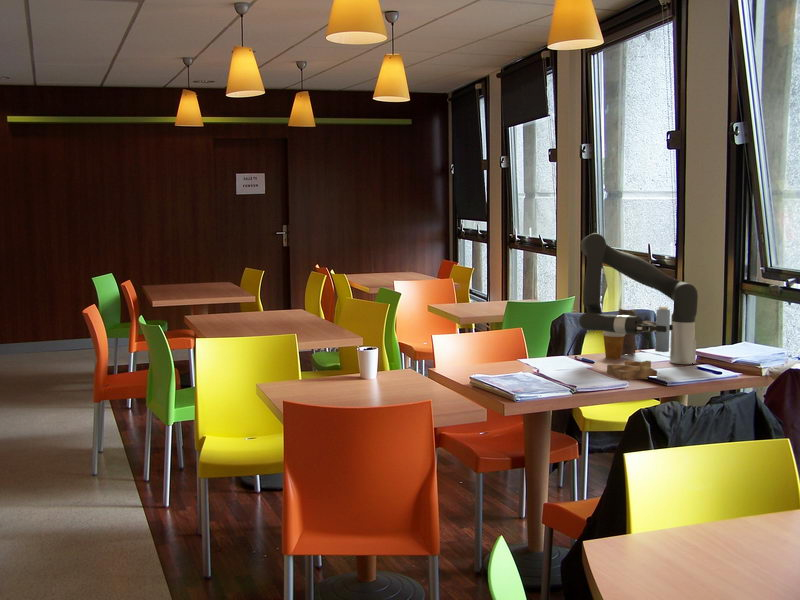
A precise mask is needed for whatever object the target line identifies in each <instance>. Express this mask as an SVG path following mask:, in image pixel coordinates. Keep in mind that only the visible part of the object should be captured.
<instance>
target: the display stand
mask: <svg viewBox="0 0 800 600" xmlns="http://www.w3.org/2000/svg"><path fill="white" fill-rule="evenodd" d="M623 362H624V364H621V363H613V364H606V373H607V374H609V375H611V376H612V377H613V376H614V377H615V378H617V379H619V380H621V381H622V380H649V379H648V378H647V377H649V376H657V377H658V370H656V369H654V368H652V361H651V360H644V361H643V360H642V361H636V360H627V359H626V360H624V361H623Z"/></svg>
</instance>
